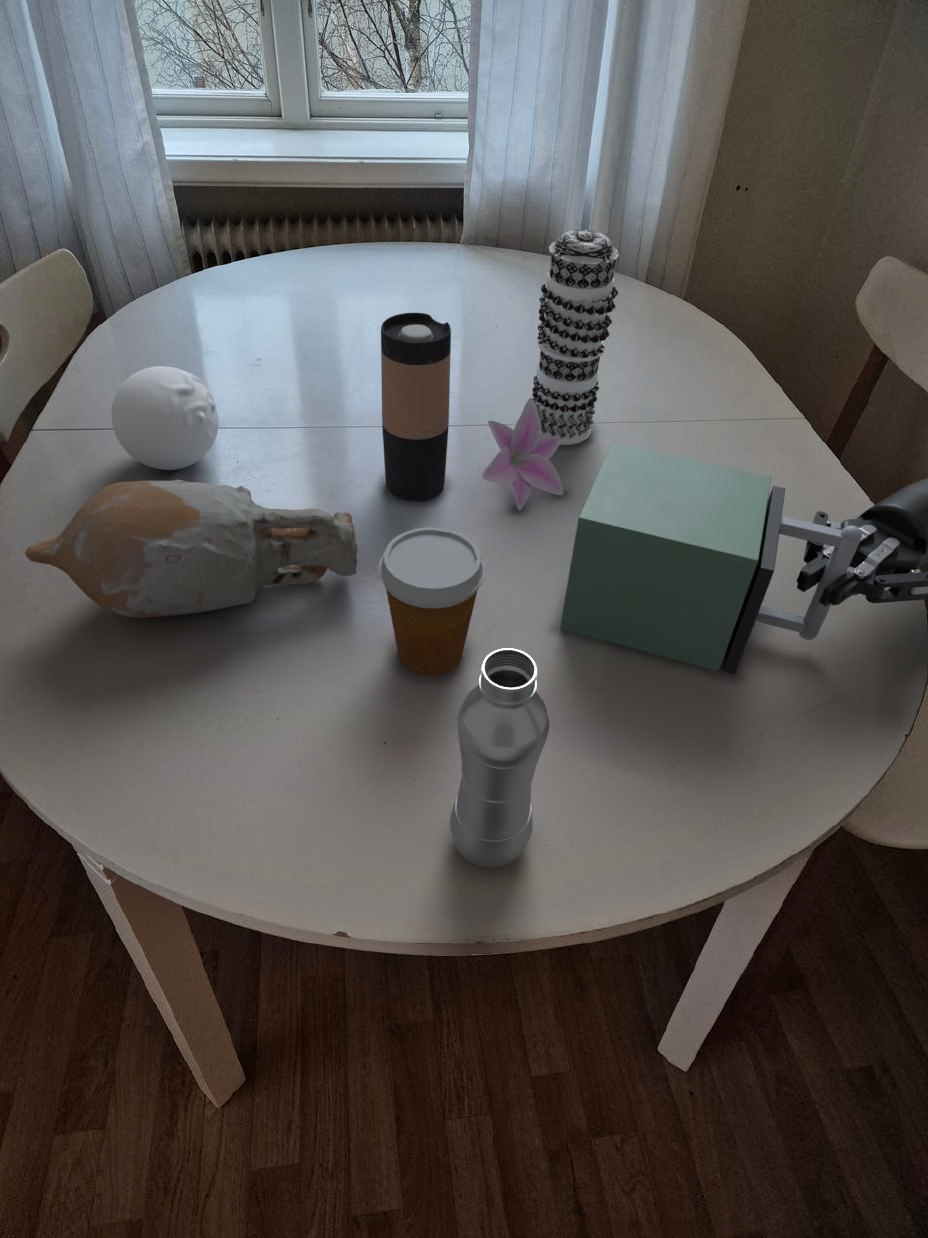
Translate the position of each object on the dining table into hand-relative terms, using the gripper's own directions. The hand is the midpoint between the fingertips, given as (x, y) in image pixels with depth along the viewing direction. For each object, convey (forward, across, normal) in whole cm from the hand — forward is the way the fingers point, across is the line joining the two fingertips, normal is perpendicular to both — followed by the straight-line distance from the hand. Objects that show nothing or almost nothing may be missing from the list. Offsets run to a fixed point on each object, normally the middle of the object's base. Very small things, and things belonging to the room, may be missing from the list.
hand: (814, 589), depth 79 cm
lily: (+3, -37, +9) cm, 39 cm away
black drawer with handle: (+2, -9, +9) cm, 13 cm away
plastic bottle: (+37, -2, +9) cm, 38 cm away
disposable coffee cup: (+28, -21, +9) cm, 36 cm away
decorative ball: (+34, -66, +9) cm, 75 cm away
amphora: (+42, -41, +9) cm, 59 cm away
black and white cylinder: (-11, -45, +9) cm, 47 cm away
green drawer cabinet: (+5, -13, +9) cm, 17 cm away
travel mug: (+12, -45, +9) cm, 48 cm away
